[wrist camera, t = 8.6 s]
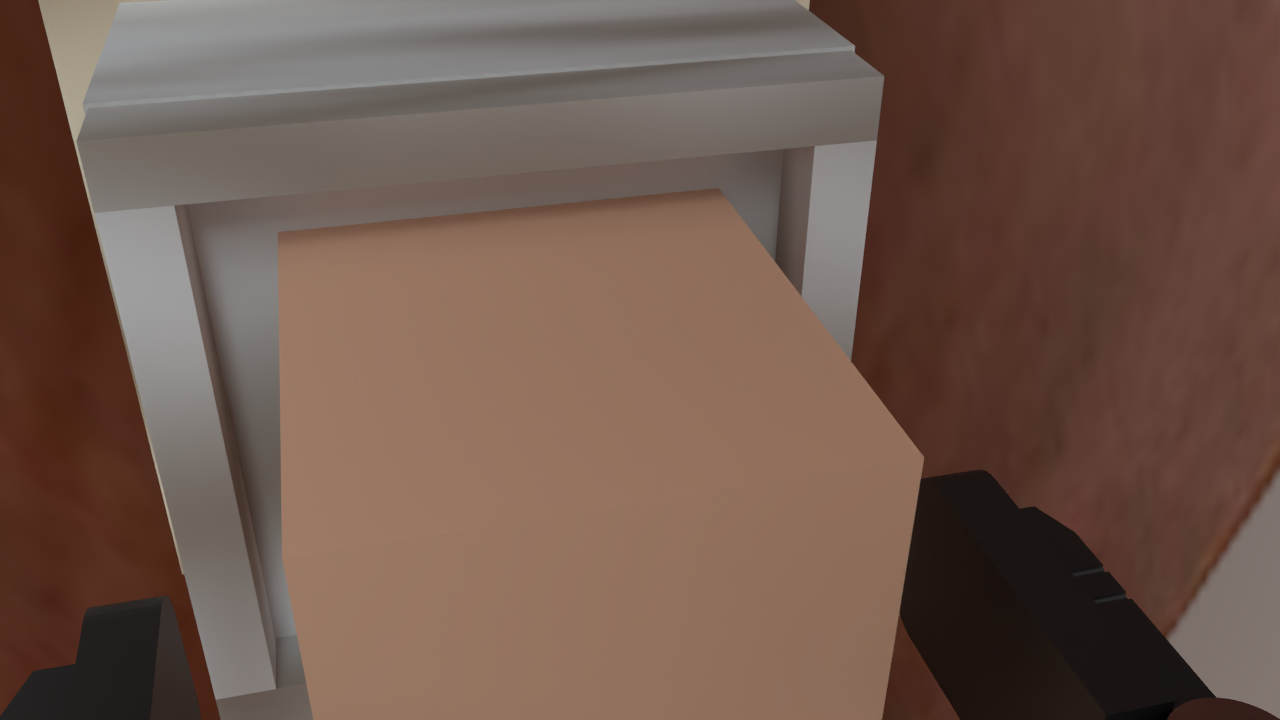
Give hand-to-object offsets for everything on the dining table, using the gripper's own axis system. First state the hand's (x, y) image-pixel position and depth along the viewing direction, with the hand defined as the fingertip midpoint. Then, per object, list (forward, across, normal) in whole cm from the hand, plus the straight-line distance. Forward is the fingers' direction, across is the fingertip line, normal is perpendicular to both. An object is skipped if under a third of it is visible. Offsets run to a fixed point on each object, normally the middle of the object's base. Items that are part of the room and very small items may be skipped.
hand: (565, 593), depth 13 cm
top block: (+4, 0, 0) cm, 4 cm away
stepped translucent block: (+12, 0, 0) cm, 12 cm away
